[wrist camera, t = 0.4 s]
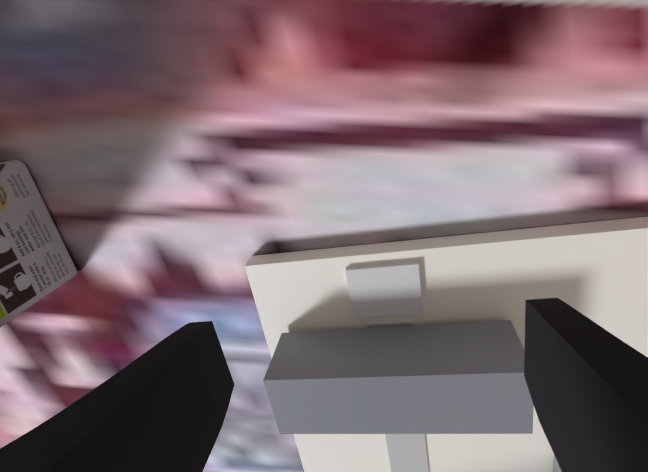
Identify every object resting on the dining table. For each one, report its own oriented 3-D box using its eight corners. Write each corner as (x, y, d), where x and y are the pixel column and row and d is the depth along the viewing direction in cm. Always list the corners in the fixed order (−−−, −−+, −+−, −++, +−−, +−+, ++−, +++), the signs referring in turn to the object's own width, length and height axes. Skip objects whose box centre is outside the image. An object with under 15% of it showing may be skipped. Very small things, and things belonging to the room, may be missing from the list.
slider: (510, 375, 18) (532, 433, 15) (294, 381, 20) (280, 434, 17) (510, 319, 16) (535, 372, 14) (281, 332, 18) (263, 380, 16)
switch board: (769, 519, 20) (792, 547, 19) (321, 503, 25) (317, 525, 24) (904, 190, 14) (953, 203, 12) (251, 255, 18) (242, 269, 17)
